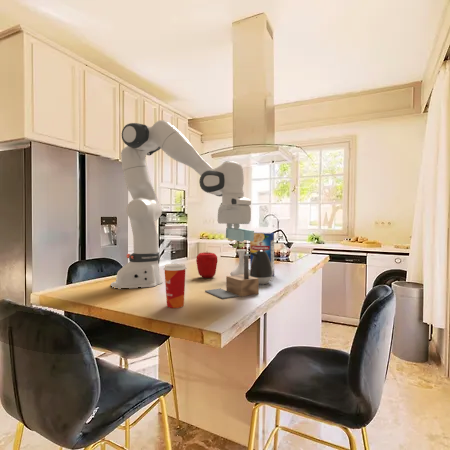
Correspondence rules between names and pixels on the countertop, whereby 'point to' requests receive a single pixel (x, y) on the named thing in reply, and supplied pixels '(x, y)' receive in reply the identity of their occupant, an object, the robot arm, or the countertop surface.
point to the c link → (239, 234)
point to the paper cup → (175, 284)
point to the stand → (243, 282)
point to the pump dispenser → (261, 267)
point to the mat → (221, 293)
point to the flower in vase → (240, 267)
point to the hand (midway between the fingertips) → (232, 235)
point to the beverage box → (263, 246)
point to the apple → (206, 264)
